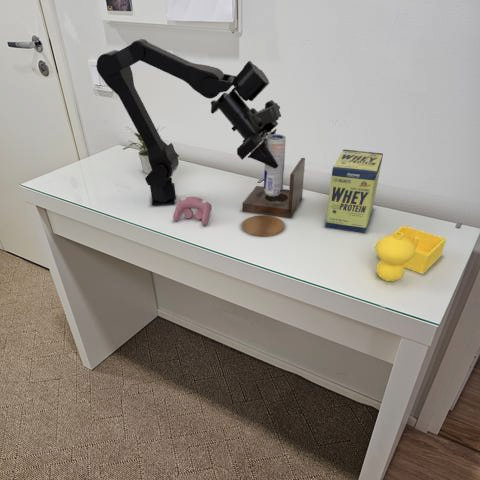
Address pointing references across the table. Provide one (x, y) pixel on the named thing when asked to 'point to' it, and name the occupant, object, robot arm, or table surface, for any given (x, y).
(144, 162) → the house plant
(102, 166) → the table surface
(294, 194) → the panel
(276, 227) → the cork coaster
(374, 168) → the protein box
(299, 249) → the table surface
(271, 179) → the beverage can
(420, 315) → the table surface
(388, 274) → the bath set
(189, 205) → the video game controller
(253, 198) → the can rack
